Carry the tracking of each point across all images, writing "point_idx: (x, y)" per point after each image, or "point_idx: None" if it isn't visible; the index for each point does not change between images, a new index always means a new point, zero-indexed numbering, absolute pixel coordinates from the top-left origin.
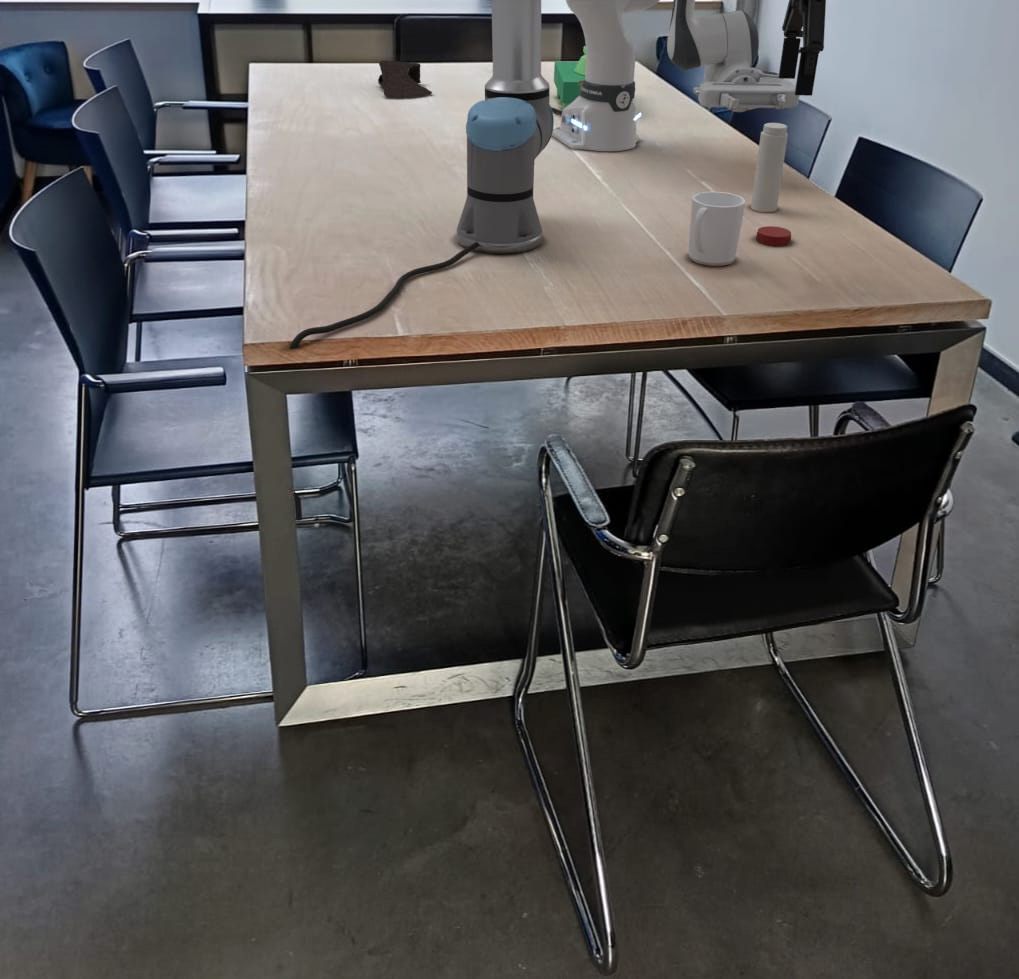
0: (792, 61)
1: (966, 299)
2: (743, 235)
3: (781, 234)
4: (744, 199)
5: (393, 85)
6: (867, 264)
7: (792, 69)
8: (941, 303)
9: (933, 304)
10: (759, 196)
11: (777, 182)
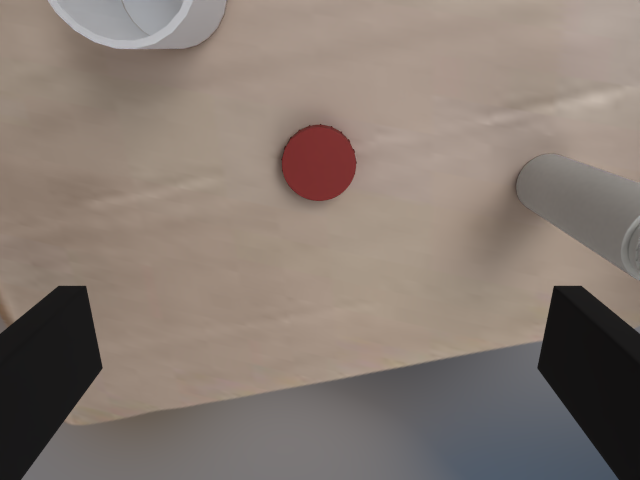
0: (600, 413)
1: None
2: (351, 100)
3: (299, 176)
4: (131, 47)
5: None
6: (200, 309)
7: (566, 383)
8: None
9: None
10: (541, 171)
11: (550, 219)
